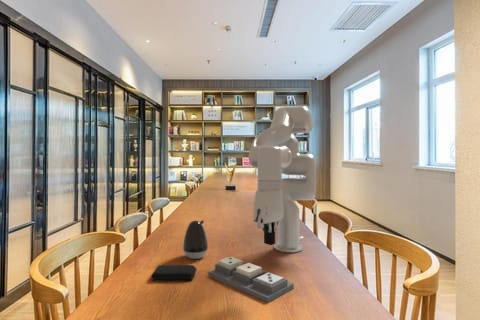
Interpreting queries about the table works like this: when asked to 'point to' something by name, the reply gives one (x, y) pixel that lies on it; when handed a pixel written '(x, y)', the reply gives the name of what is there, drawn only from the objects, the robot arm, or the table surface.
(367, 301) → the table surface
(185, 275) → the carrying case or bag
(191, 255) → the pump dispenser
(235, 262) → the tile two
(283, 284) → the button board
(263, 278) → the tile three
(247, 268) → the tile one
